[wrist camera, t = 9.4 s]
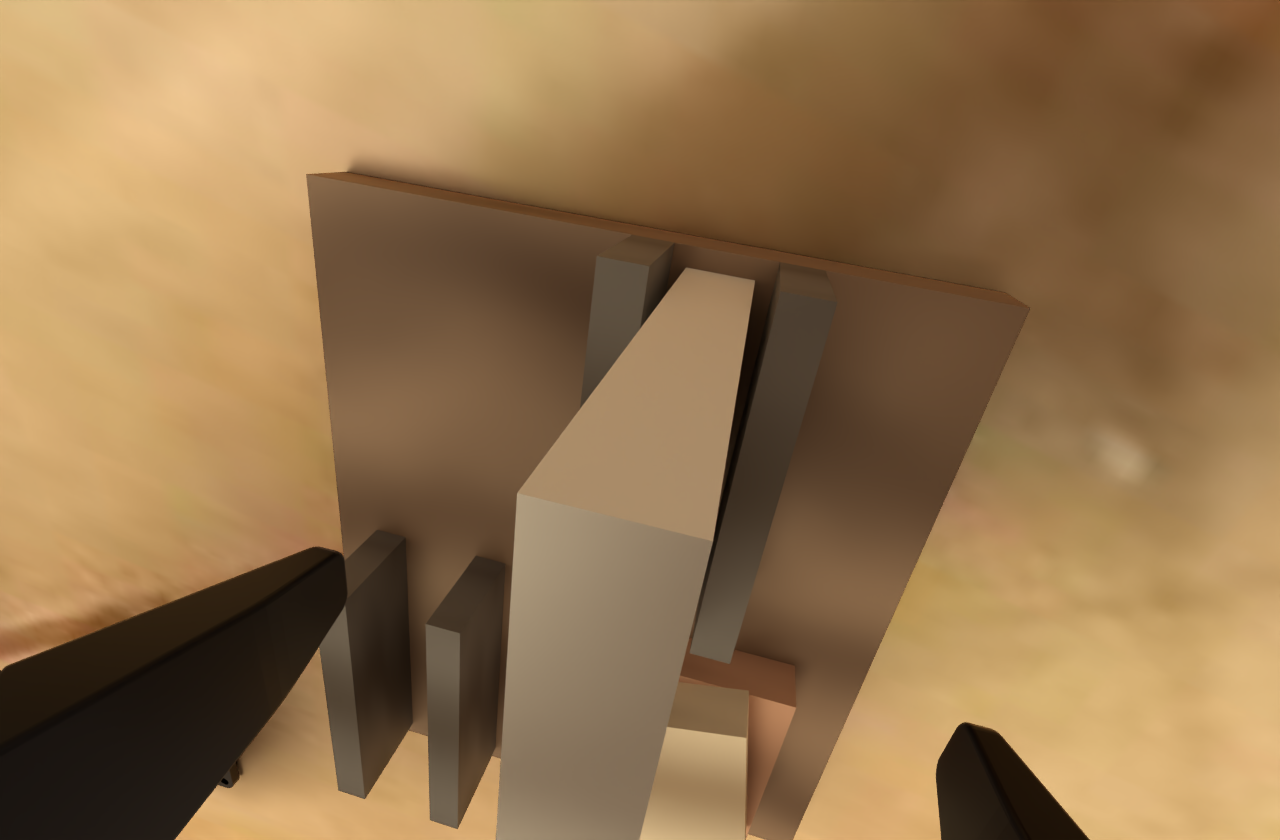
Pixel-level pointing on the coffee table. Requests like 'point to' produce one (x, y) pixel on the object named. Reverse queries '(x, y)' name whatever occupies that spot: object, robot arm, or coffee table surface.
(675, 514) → the off-white sheet
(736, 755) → the birch offcut
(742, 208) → the coffee table surface
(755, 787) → the cedar offcut
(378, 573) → the walnut rack
